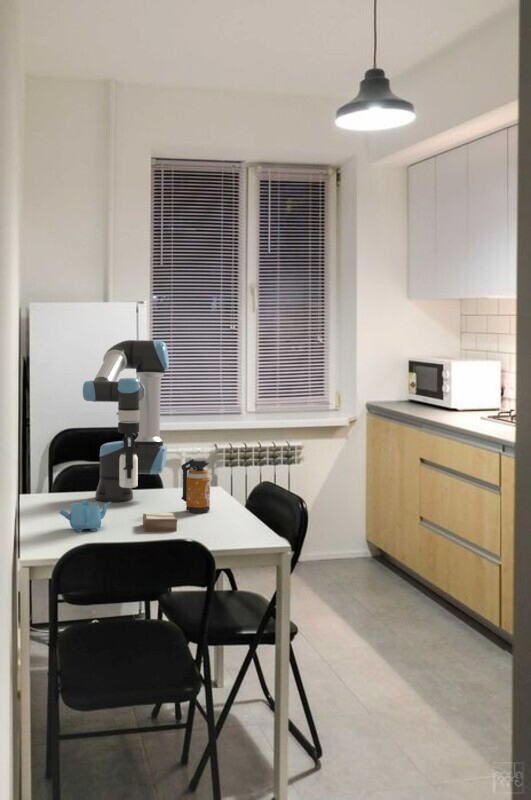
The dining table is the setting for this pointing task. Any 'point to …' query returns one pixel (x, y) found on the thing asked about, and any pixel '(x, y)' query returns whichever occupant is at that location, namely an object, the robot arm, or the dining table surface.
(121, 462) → the can
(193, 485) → the canister
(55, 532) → the dining table surface
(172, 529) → the podium
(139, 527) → the dining table surface
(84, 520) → the teapot
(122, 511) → the dining table surface
